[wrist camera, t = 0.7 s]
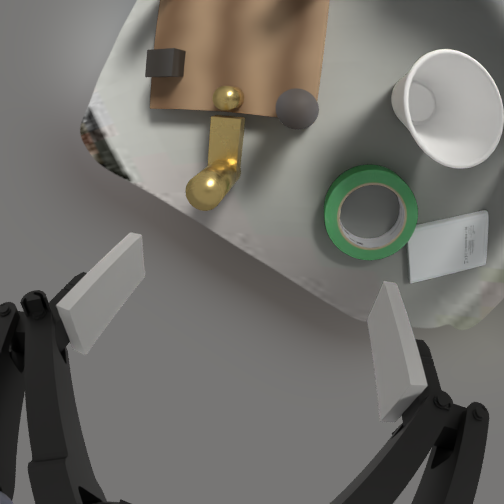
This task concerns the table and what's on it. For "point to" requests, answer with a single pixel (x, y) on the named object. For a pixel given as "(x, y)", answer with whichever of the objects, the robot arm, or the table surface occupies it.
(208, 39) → the wooden peg board
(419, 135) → the cup
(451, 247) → the external hard drive
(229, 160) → the leg
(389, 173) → the tape roll
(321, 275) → the table surface
